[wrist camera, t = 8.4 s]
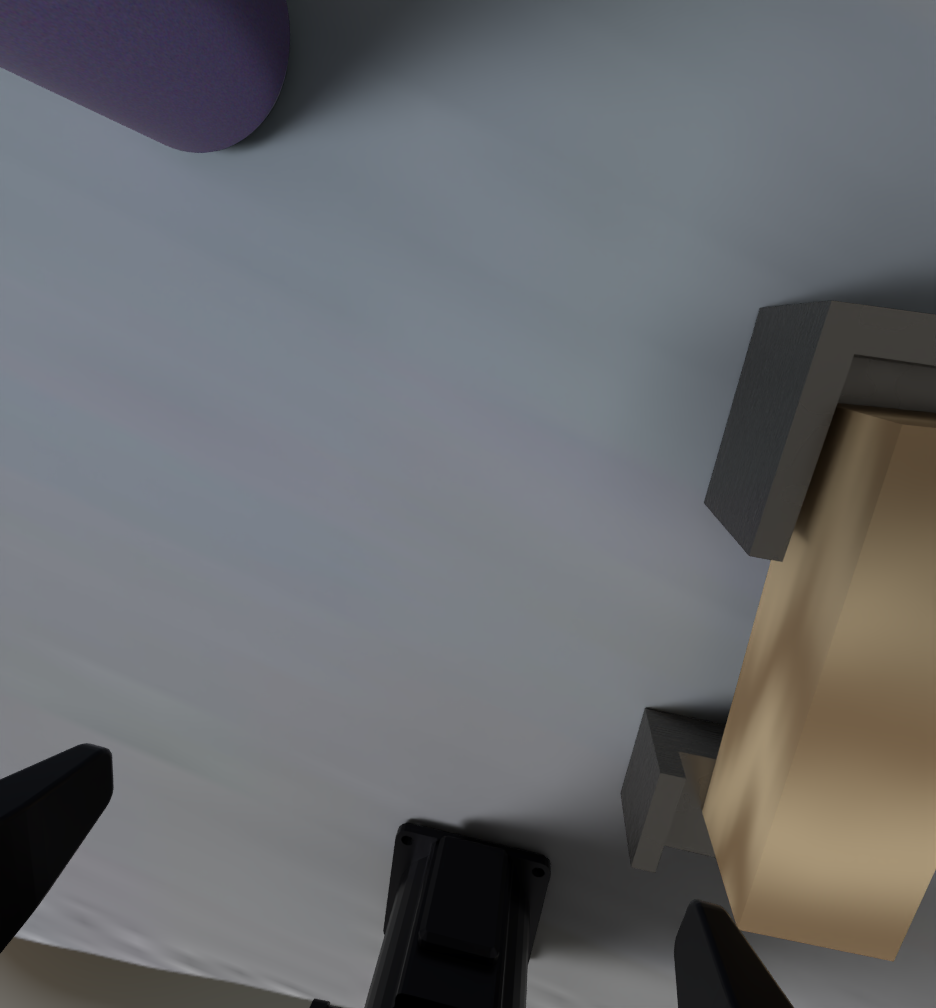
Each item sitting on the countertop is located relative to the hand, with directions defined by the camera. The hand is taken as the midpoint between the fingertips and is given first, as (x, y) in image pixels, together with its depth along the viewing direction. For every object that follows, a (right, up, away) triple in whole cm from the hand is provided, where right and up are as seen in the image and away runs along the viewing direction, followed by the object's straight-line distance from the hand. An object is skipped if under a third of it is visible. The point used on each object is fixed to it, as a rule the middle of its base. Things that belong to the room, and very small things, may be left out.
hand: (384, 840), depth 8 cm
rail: (+12, +1, +8) cm, 15 cm away
